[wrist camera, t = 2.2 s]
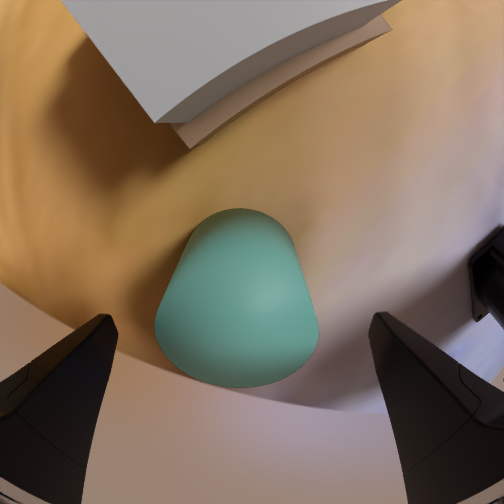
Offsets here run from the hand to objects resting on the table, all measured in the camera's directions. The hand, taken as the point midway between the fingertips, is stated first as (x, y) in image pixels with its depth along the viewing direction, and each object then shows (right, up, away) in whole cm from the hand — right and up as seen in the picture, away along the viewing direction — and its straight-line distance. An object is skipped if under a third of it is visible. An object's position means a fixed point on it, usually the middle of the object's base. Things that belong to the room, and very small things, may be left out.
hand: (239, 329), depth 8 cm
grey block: (-1, +10, -3) cm, 11 cm away
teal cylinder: (0, +2, +4) cm, 4 cm away
